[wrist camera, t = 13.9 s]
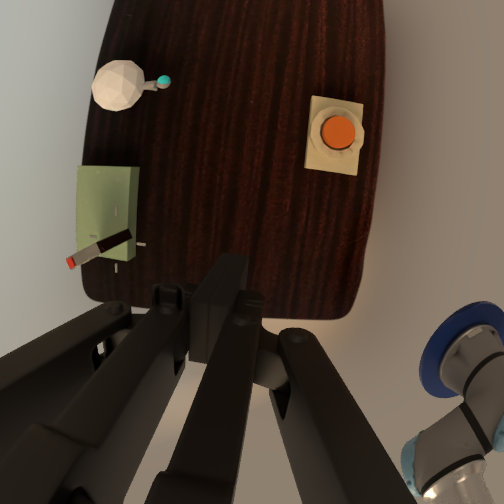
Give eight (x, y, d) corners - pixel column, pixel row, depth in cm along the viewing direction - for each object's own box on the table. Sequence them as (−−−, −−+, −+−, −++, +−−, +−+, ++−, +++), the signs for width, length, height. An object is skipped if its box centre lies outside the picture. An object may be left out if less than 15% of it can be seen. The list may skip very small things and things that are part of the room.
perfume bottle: (99, 58, 35) (173, 46, 35) (108, 102, 41) (177, 94, 42) (77, 74, 30) (160, 59, 30) (89, 124, 36) (167, 114, 37)
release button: (350, 150, 36) (354, 150, 34) (320, 146, 36) (322, 144, 34) (353, 121, 35) (356, 119, 33) (323, 116, 35) (325, 113, 33)
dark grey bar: (128, 228, 42) (94, 242, 33) (133, 237, 42) (99, 254, 33) (100, 242, 43) (64, 259, 34) (104, 252, 43) (69, 270, 34)
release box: (353, 175, 40) (360, 175, 36) (304, 167, 40) (306, 167, 37) (359, 107, 37) (366, 101, 33) (310, 99, 38) (313, 92, 34)
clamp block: (152, 271, 46) (144, 277, 43) (87, 259, 47) (77, 264, 44) (158, 168, 42) (149, 168, 39) (88, 165, 43) (77, 165, 40)
